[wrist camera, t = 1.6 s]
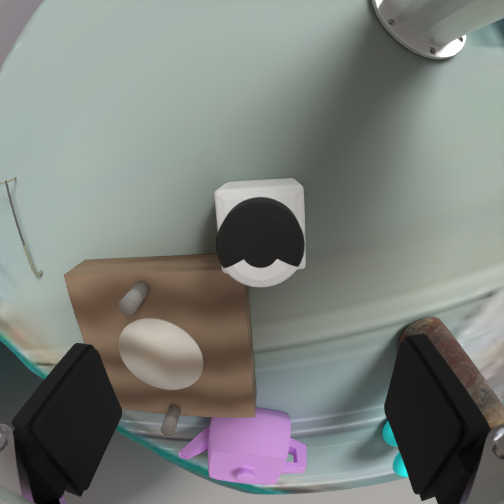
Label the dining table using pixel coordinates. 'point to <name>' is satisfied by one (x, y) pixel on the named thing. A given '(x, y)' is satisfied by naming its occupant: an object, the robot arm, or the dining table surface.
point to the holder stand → (169, 334)
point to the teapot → (249, 448)
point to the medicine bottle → (261, 230)
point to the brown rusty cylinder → (460, 367)
